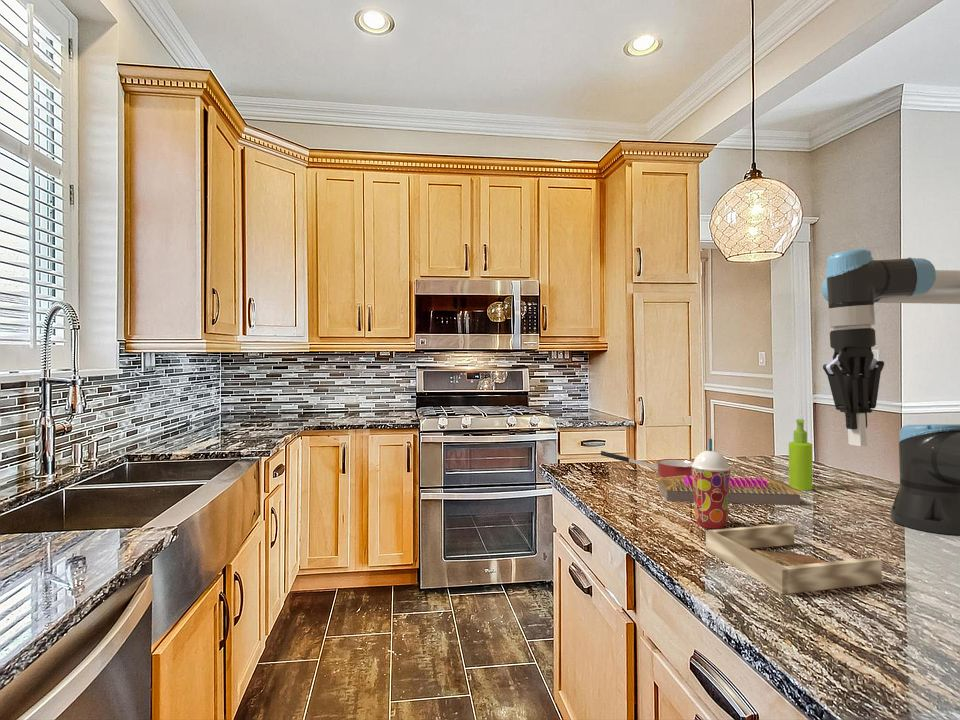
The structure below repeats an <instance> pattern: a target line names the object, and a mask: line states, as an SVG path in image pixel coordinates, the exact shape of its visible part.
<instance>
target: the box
mask: <svg viewBox="0 0 960 720" xmlns="http://www.w3.org/2000/svg"><path fill="white" fill-rule="evenodd" d="M794 545H795V524H792V523H789V522H788V523H780V524H768V525H755V526H742V527H732V528H731V527H730V528H720V529H707V530H705V551H707V552H709V553H710V554H712V555H713V556H715V557H717V558H718V559H720V560H722V561H724V562H726V563H728V564H729V565H731V566H732V567H734V568H736V569H738V570H739V571H741V572H743V573H744V574H747V575H748V576H750V577H752V578H753V579H755V580H757V581H759V583H762V584H764V585H765V586H767V587H769V588H770V589H772V590H774V591H776V592H778V593H779V594H781V595H789V594H790V595H791V594H798V593H807V592H817V591H825V590H834V589H843V588H851V587H861V586H869V585H870V586H871V585H876V584H877V585H878V584H882V583H883V579H882V578H883V577H882V576H883V574H882V573H883V572H882V569H883V568H882V567H883V565H882V559H880V558H877V557H875V556H874V557H866V558H856V559H847V560H845V559H844V560H835V561H825V562H824V563H814V564H804V565H794V566H784V565H782V564H779V563H777V562H774V561H772V560H769V559H767V558H765V557H763V556H761V555H759V554H757V552H756V551H753V550H751V549H760V548H762V549H763V548H768V547H769V548H771V547H780V546H794Z"/></svg>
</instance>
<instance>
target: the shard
mask: <svg viewBox="0 0 960 720" xmlns="http://www.w3.org/2000/svg"><path fill="white" fill-rule="evenodd" d="M754 552H755V553H757V554H759V555H761V556H763V557H765V558H767V559H769V560H771V561H773V562H775V563H777V564H779V565H781V566H783V567H784V566H794V565H804V564H814V563H824V562H826V561H825V560H823V559H822V560H821V559H819V558H817V557H815V556H811V555H807V554H800V553H793V552H787V551H777V550H776V551H775V550H774V551H773V550H765V549H759V548H754Z"/></svg>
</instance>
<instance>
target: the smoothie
mask: <svg viewBox="0 0 960 720" xmlns="http://www.w3.org/2000/svg"><path fill="white" fill-rule="evenodd" d="M693 461H694V462H693V464H691V467H692V480H693V494H694V502H693V508H694V518H695V520H696V521H697V524H698V525H699V526H700V527H702V528H706V529H710V530H717V529H724V528H725V525H726V523H728V513H729V512H728V511H729V503H728V497H729V481H730V477H731V469H732V468H731V466H730V465H729V462H728V460H727V459H726V457H725V456H724V455H722V454H721V453H720V452H718V451H715V450H713V439H712V438H709V439H708V450H704V451H701V452H700V453H698V454H697V455H696V456H695V458H694V460H693Z"/></svg>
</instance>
